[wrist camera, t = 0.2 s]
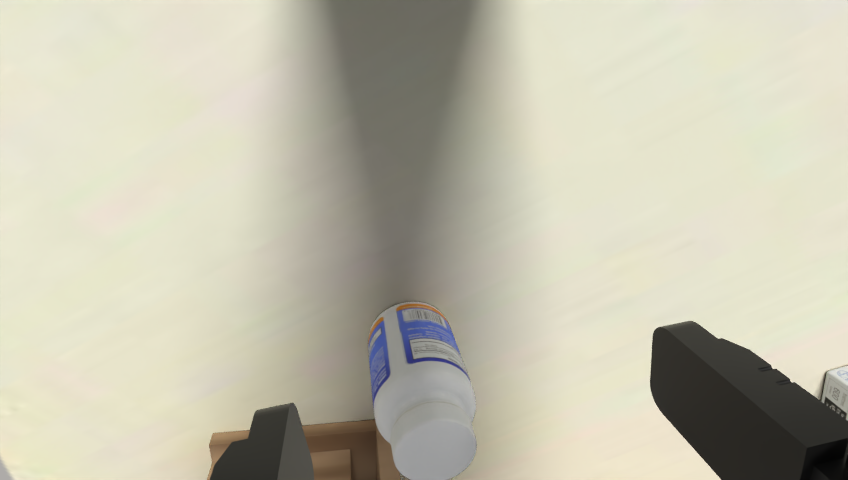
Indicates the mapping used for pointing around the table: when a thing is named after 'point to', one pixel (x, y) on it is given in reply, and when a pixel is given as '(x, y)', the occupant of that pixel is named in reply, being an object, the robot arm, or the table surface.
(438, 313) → the pill bottle
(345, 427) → the bracket
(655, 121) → the table surface
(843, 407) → the light bulb box
